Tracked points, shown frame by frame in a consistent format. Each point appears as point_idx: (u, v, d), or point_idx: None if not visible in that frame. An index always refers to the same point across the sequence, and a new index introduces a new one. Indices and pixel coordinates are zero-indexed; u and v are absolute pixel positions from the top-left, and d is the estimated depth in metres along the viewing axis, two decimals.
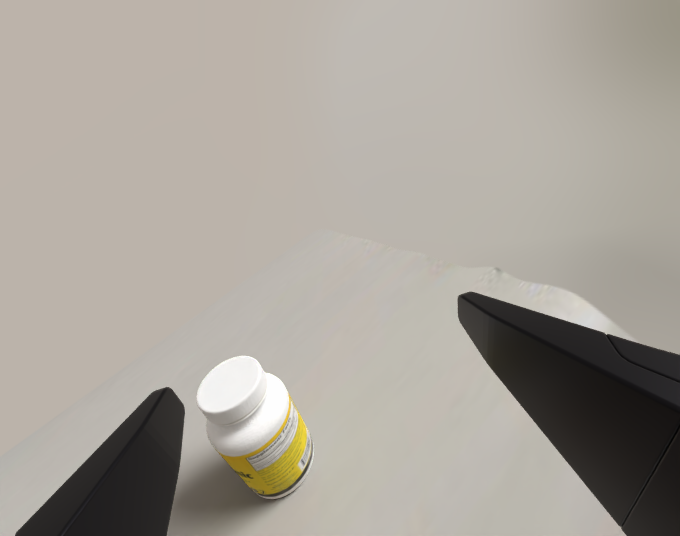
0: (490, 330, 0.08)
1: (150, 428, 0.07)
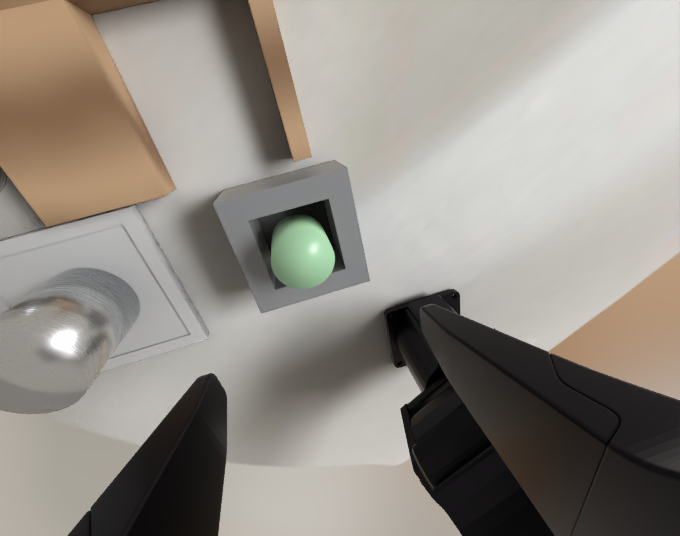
0: (446, 345, 0.08)
1: (202, 411, 0.07)
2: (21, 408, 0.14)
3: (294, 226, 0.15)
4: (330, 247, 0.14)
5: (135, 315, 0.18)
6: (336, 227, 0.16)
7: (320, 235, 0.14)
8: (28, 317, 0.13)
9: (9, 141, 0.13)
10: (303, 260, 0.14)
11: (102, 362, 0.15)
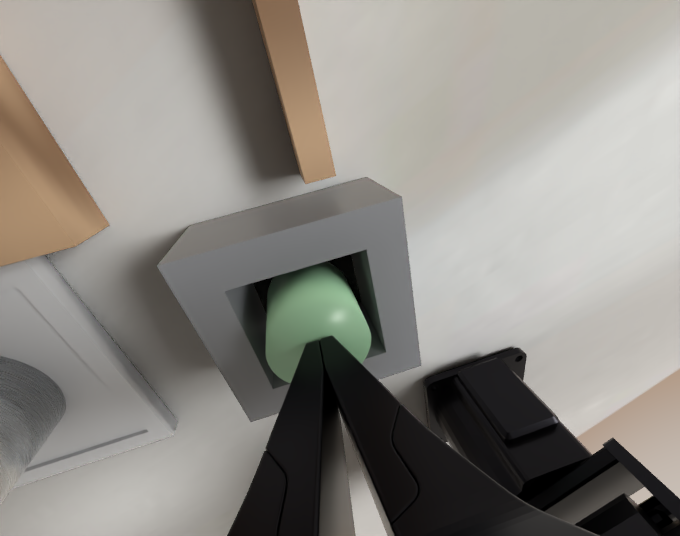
0: (330, 383, 0.07)
1: (325, 371, 0.07)
2: None
3: (304, 288, 0.09)
4: (365, 325, 0.09)
5: (54, 418, 0.12)
6: (375, 293, 0.10)
7: (349, 308, 0.08)
8: None
9: None
10: None
11: None
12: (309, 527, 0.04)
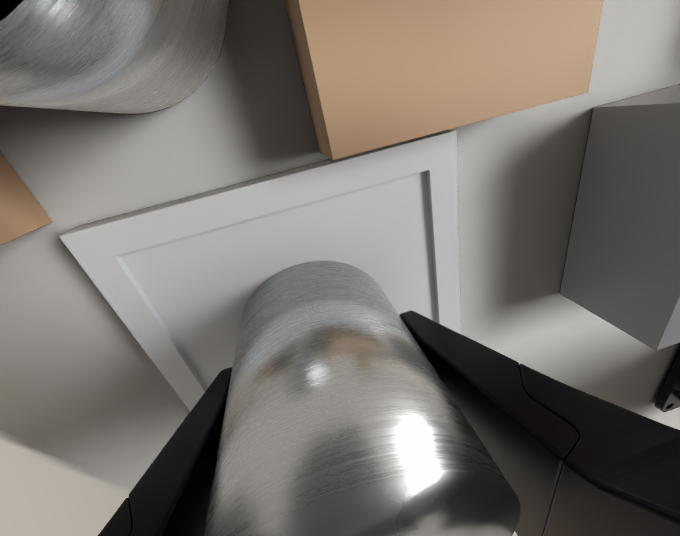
0: None
1: None
2: None
3: None
4: None
5: None
6: None
7: None
8: (402, 405, 0.04)
9: None
10: None
11: None
12: None
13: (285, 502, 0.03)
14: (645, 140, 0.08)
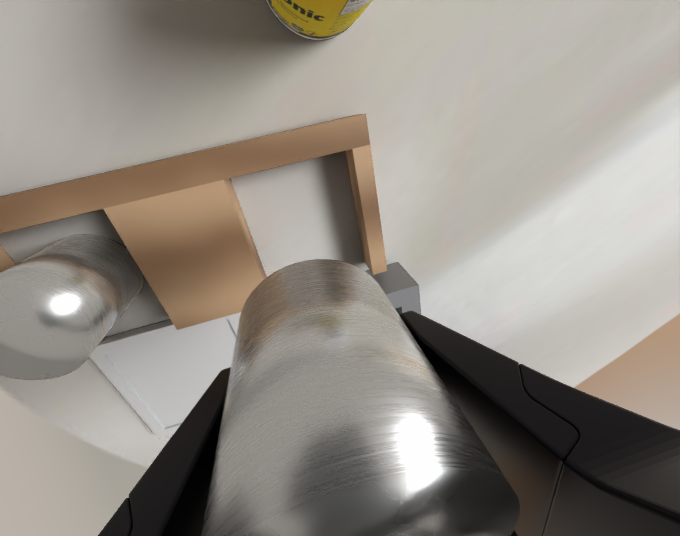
0: None
1: None
2: None
3: None
4: None
5: None
6: None
7: None
8: (401, 404, 0.04)
9: (163, 273, 0.16)
10: None
11: None
12: None
13: (283, 499, 0.03)
14: None
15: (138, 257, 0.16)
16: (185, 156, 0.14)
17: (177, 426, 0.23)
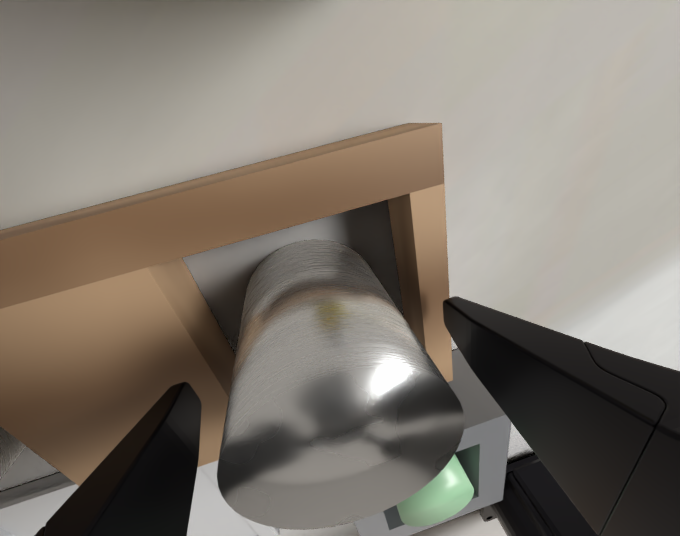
0: (472, 336, 0.08)
1: (171, 421, 0.07)
2: (311, 520, 0.07)
3: None
4: (471, 488, 0.12)
5: None
6: (479, 464, 0.12)
7: (462, 480, 0.11)
8: (372, 332, 0.06)
9: (54, 430, 0.09)
10: (438, 504, 0.12)
11: None
12: None
13: (284, 385, 0.05)
14: None
15: None
16: (54, 228, 0.06)
17: None
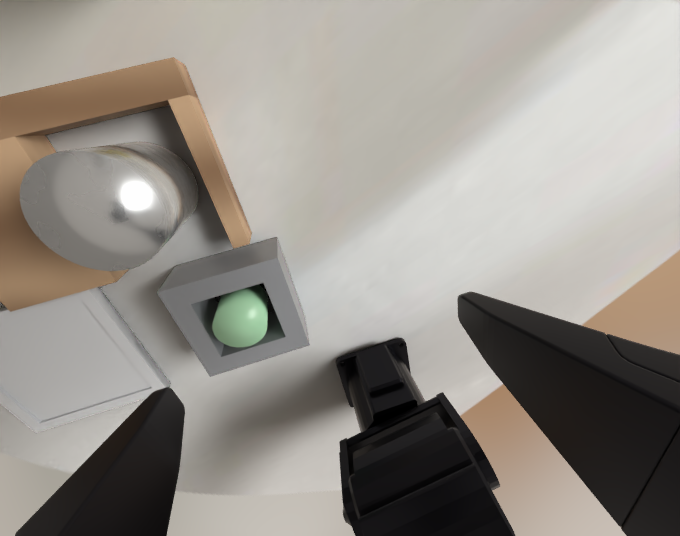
0: (490, 330, 0.08)
1: (150, 428, 0.07)
2: (92, 261, 0.13)
3: (232, 297, 0.18)
4: (262, 315, 0.18)
5: (195, 201, 0.17)
6: (273, 304, 0.18)
7: (252, 307, 0.17)
8: (105, 150, 0.12)
9: None
10: (240, 326, 0.18)
11: (174, 224, 0.14)
12: None
13: (43, 158, 0.11)
14: None
15: None
16: None
17: (54, 419, 0.22)
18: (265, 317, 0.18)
